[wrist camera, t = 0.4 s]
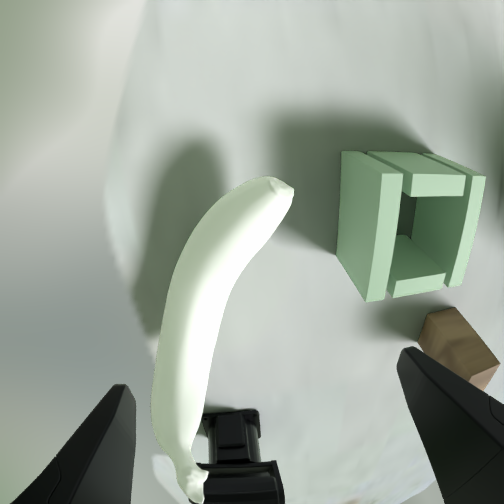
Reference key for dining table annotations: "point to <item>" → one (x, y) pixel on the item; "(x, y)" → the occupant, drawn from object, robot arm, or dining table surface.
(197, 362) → the banana
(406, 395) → the robot arm
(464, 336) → the walnut peg
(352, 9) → the dining table surface
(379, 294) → the green open frame
